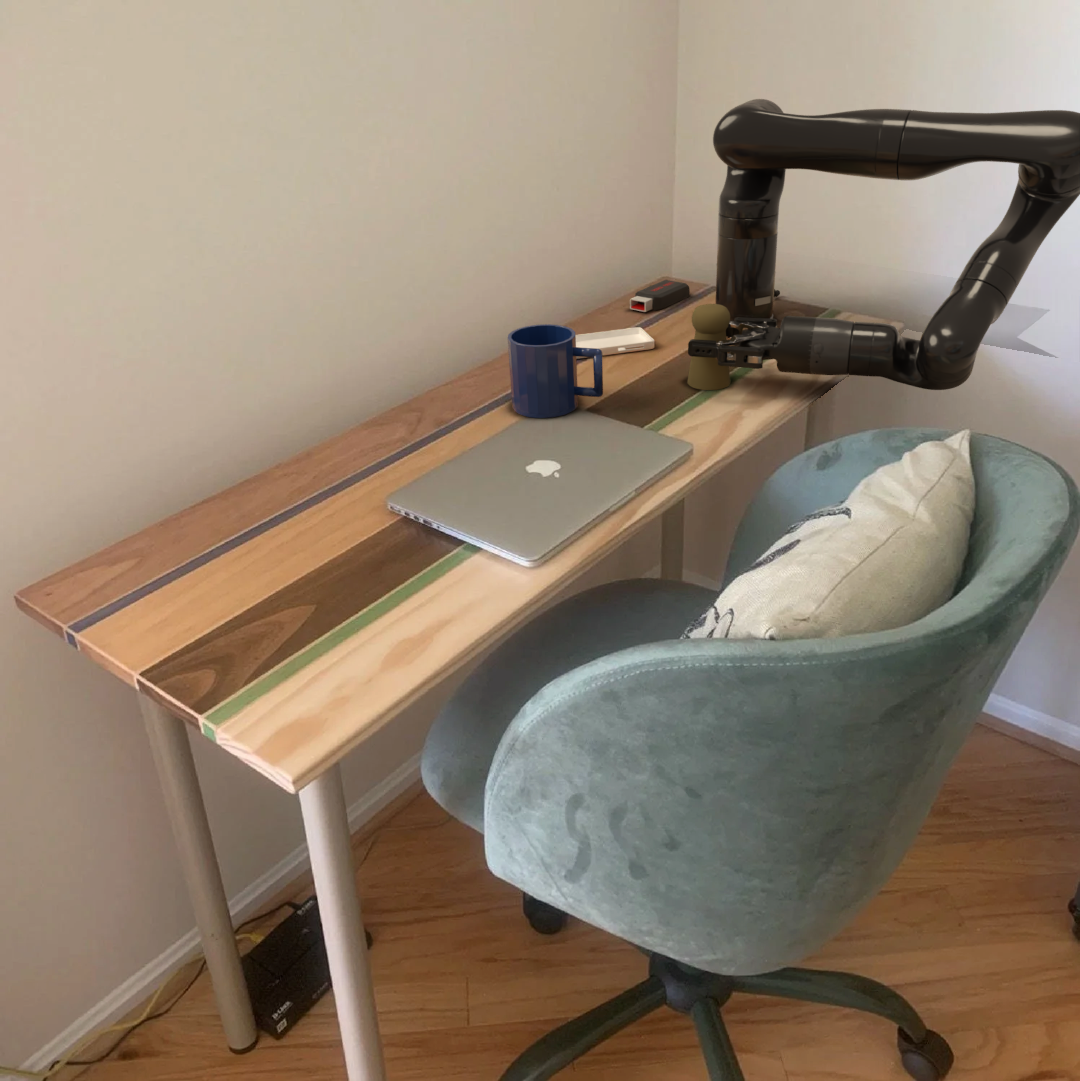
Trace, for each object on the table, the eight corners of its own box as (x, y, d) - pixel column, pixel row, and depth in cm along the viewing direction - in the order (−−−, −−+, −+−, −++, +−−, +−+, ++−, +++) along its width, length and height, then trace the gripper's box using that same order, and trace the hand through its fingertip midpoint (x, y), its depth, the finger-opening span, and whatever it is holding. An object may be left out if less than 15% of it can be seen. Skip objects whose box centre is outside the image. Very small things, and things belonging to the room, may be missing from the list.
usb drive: (689, 296, 182) (690, 280, 181) (650, 314, 174) (650, 298, 173) (665, 291, 185) (665, 276, 184) (625, 309, 178) (625, 293, 176)
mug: (502, 415, 140) (497, 343, 135) (525, 390, 147) (521, 322, 142) (593, 423, 136) (591, 350, 131) (612, 397, 143) (611, 327, 138)
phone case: (640, 334, 166) (549, 346, 163) (640, 326, 165) (549, 337, 162) (655, 349, 160) (561, 361, 157) (655, 340, 159) (560, 352, 156)
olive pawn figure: (729, 374, 149) (732, 298, 143) (731, 389, 144) (735, 312, 138) (686, 374, 149) (688, 299, 144) (687, 390, 144) (689, 313, 139)
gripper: (807, 391, 135) (682, 382, 140) (819, 354, 147) (704, 347, 152) (811, 336, 131) (683, 328, 136) (824, 302, 143) (705, 296, 148)
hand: (694, 338), depth 144 cm, fingers open, 7 cm apart
